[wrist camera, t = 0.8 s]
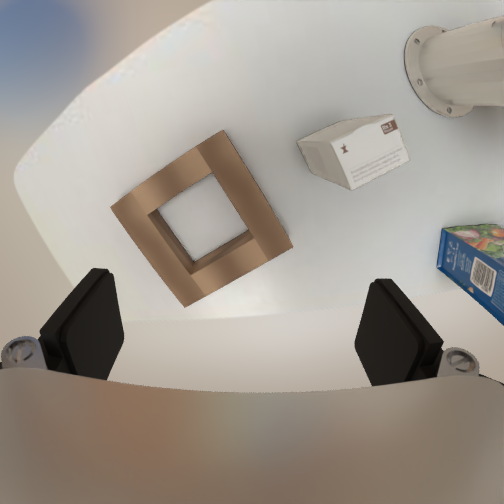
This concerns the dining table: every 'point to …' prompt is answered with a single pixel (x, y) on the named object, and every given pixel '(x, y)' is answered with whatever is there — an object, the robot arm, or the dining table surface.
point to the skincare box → (355, 150)
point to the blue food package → (476, 263)
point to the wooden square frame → (225, 257)
